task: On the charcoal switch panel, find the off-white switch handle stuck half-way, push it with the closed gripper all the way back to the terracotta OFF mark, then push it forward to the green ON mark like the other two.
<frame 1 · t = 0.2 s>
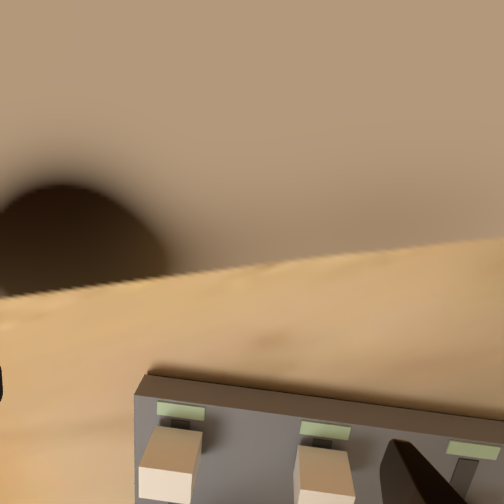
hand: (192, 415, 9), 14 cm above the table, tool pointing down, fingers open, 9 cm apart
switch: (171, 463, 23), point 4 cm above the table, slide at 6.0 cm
middle switch: (321, 484, 23), point 4 cm above the table, slide at 6.0 cm
breaker panel: (316, 466, 28), on the table
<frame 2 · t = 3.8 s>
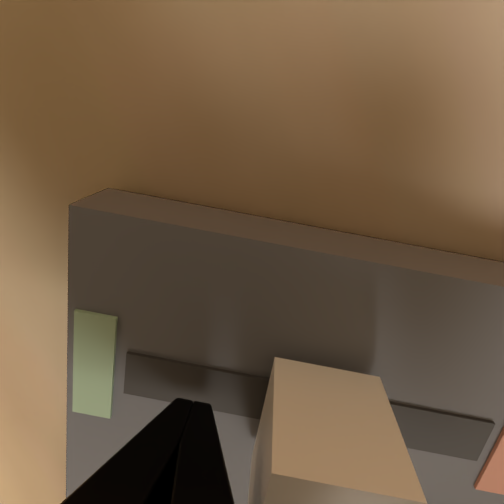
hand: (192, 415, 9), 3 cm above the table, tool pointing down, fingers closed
tripped switch: (317, 473, 8), point 4 cm above the table, slide at 2.8 cm, touching gripper
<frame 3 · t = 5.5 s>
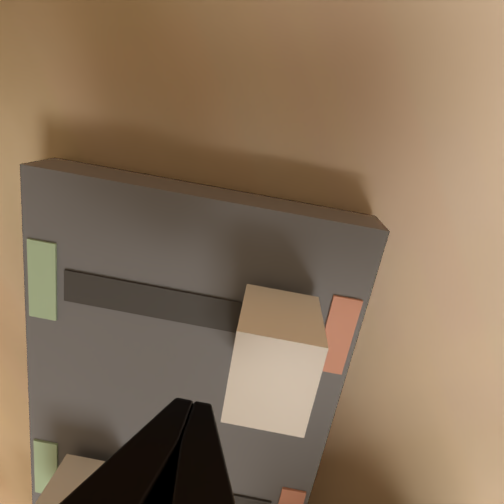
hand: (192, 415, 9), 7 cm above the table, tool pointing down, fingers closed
tripped switch: (273, 354, 12), point 4 cm above the table, slide at -0.1 cm
breaker panel: (179, 444, 18), on the table
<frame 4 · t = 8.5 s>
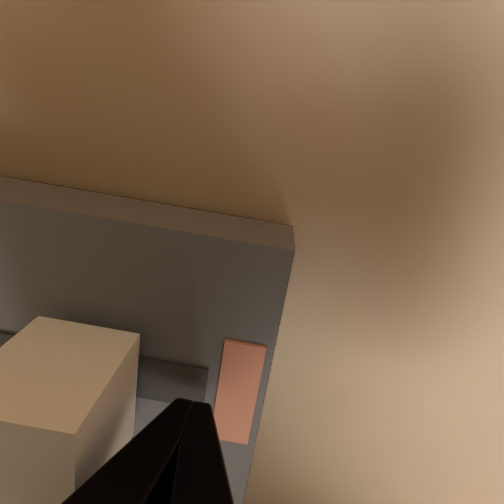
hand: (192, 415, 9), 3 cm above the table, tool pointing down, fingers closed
tripped switch: (54, 423, 8), point 4 cm above the table, slide at 1.4 cm, touching gripper
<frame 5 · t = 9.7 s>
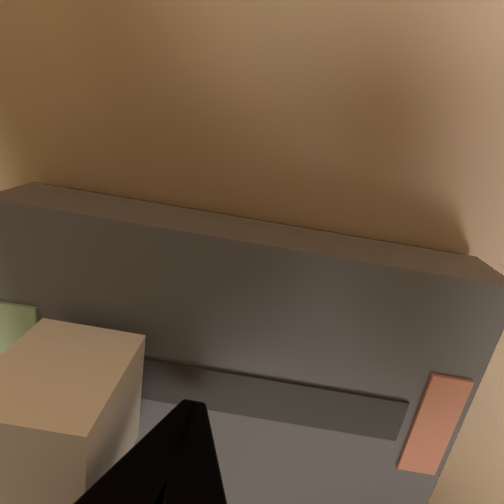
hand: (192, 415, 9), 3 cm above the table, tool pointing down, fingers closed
tripped switch: (61, 426, 8), point 4 cm above the table, slide at 6.2 cm, touching gripper
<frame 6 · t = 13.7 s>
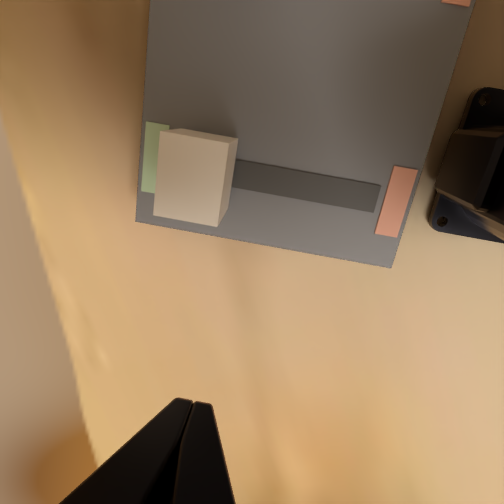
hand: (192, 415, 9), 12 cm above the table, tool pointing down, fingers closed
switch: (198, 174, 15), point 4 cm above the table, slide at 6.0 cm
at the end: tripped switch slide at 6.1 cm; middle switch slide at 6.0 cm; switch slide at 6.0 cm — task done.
